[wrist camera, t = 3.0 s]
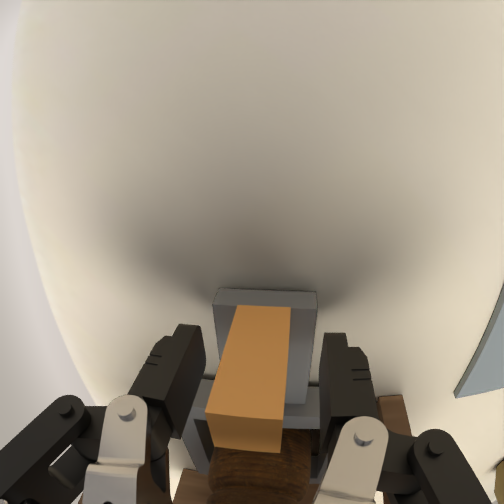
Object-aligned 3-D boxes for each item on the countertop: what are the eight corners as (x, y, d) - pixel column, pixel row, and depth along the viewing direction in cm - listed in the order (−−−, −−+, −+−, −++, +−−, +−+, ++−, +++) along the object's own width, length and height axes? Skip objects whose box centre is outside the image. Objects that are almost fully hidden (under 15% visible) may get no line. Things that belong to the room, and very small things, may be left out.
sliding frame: (155, 283, 13) (83, 383, 7) (384, 291, 12) (428, 412, 6) (204, 453, 20) (185, 518, 14) (330, 462, 18) (329, 530, 13)
